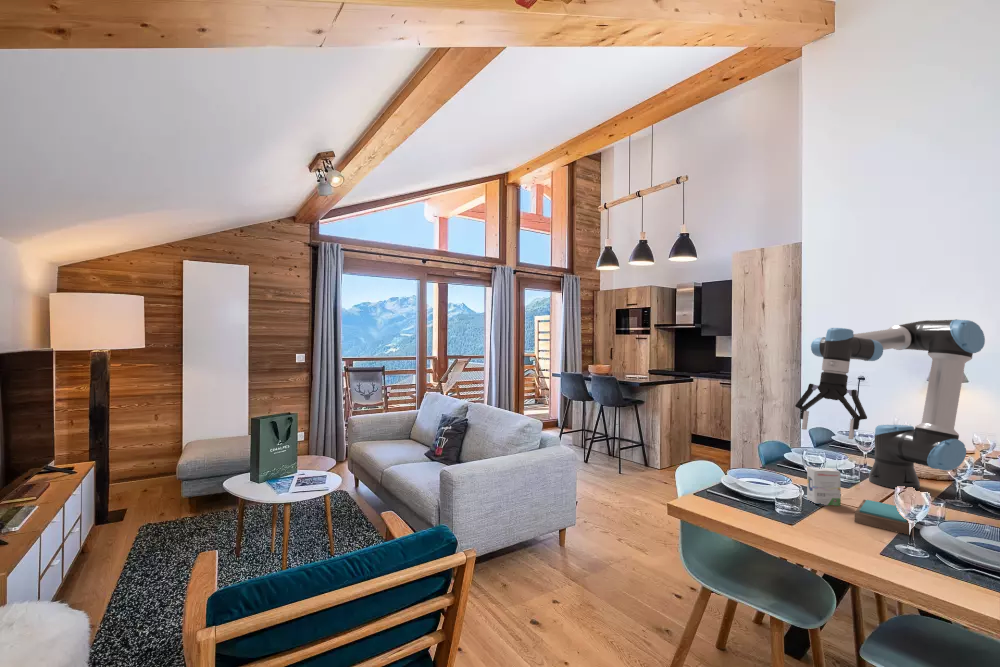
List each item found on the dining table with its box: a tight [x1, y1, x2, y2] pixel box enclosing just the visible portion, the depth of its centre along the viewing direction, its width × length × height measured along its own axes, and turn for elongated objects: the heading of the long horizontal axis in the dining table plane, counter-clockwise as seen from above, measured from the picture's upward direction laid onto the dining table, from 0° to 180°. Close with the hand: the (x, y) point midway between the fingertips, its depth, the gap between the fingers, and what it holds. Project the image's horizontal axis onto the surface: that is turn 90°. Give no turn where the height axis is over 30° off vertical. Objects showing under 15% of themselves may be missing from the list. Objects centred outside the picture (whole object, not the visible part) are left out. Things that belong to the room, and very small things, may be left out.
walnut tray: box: [854, 499, 909, 536], centre depth 145 cm, size 16×13×4 cm
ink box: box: [806, 466, 842, 507], centre depth 160 cm, size 9×5×12 cm, turn 84°
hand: (826, 434), depth 158 cm, fingers open, 13 cm apart
